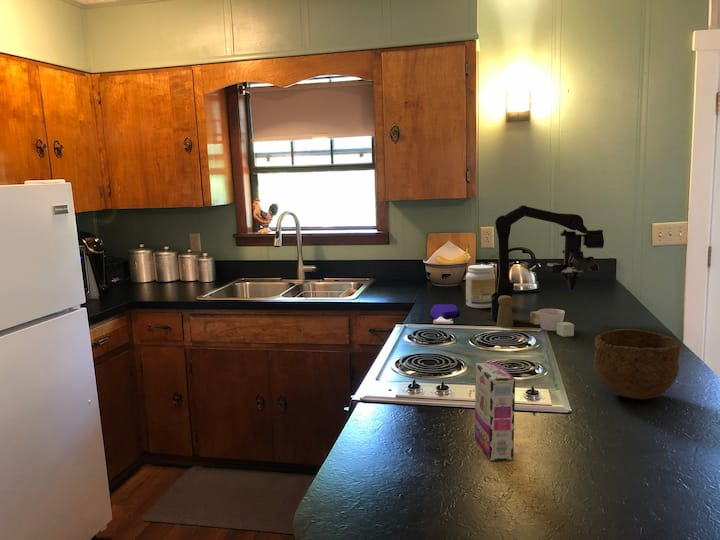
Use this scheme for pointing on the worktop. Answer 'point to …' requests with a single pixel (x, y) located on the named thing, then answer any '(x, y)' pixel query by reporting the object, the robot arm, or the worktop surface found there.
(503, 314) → the cork
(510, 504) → the worktop surface
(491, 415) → the candy bar box
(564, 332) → the sage block
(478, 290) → the supplement tub
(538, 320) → the birch block
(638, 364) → the bowl
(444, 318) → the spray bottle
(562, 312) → the candle
